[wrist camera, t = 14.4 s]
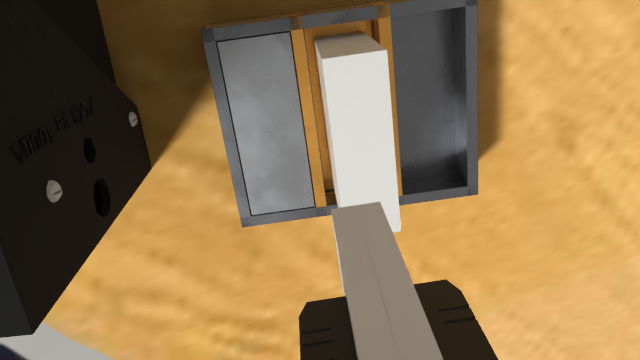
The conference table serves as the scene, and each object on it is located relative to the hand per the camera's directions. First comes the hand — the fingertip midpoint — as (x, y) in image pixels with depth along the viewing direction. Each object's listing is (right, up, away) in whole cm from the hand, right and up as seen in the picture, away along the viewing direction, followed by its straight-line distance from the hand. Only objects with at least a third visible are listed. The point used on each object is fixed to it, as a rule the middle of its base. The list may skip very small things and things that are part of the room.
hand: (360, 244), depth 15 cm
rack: (+1, +8, +23) cm, 25 cm away
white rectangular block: (+1, +7, +22) cm, 24 cm away
